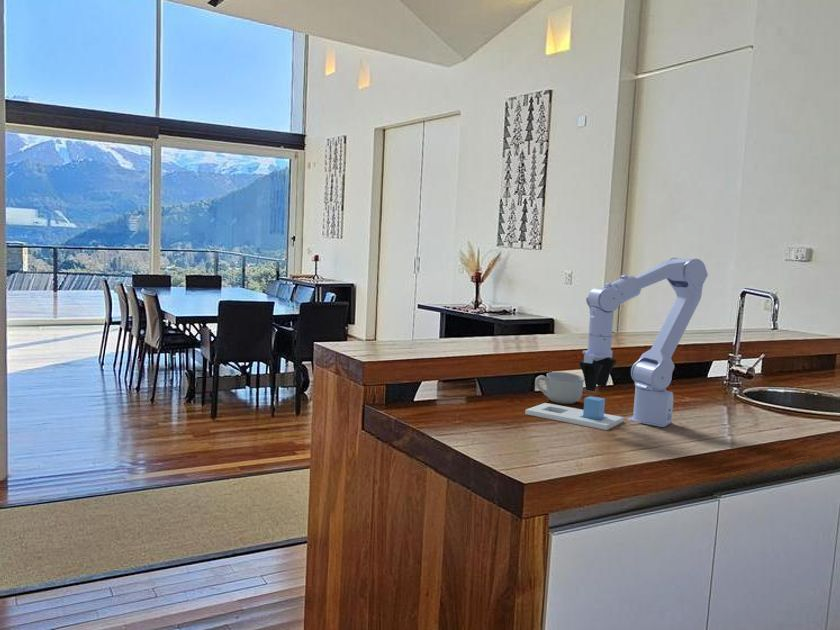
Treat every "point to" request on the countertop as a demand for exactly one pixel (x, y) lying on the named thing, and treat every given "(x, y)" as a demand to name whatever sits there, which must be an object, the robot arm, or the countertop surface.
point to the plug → (594, 408)
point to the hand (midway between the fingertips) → (596, 388)
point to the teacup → (562, 387)
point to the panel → (572, 416)
